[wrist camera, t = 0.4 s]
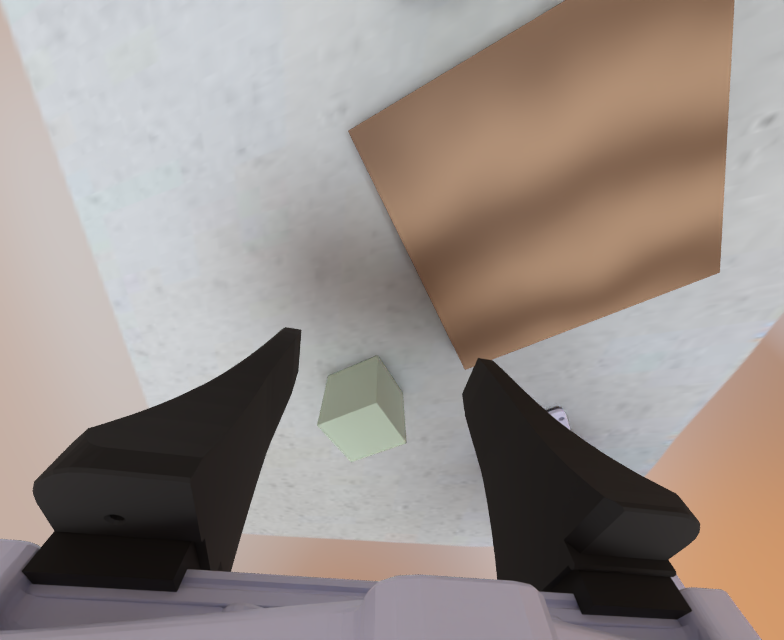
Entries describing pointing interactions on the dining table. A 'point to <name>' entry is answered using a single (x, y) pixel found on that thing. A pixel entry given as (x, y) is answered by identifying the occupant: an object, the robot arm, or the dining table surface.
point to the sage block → (363, 410)
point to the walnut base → (562, 169)
